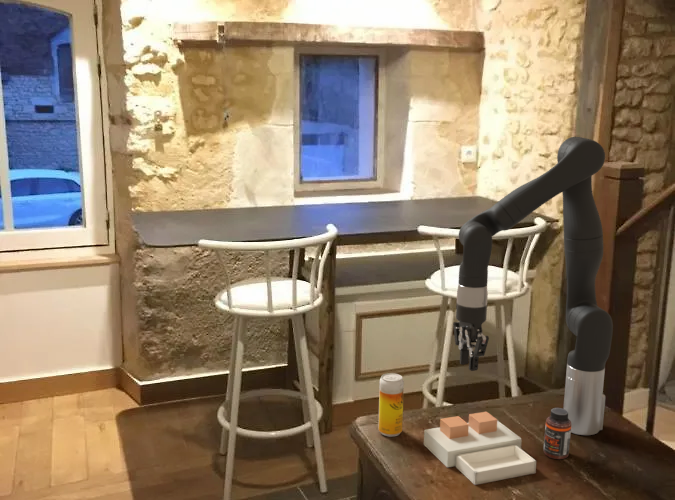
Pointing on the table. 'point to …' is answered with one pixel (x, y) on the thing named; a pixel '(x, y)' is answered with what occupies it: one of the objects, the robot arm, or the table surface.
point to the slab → (467, 442)
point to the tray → (495, 464)
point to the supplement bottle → (557, 434)
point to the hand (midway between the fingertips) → (468, 366)
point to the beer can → (391, 404)
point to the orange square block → (454, 427)
